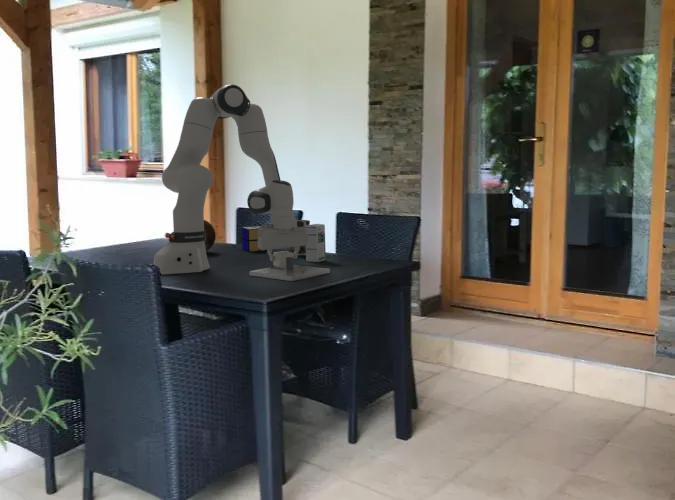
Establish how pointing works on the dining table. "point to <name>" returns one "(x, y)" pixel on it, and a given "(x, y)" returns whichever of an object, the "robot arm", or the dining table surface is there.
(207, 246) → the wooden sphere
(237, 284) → the dining table surface
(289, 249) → the coffee can
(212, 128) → the robot arm
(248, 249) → the puzzle cube
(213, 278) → the dining table surface
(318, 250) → the syrup box
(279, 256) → the grey slotted block
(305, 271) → the hub plate
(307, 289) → the dining table surface
